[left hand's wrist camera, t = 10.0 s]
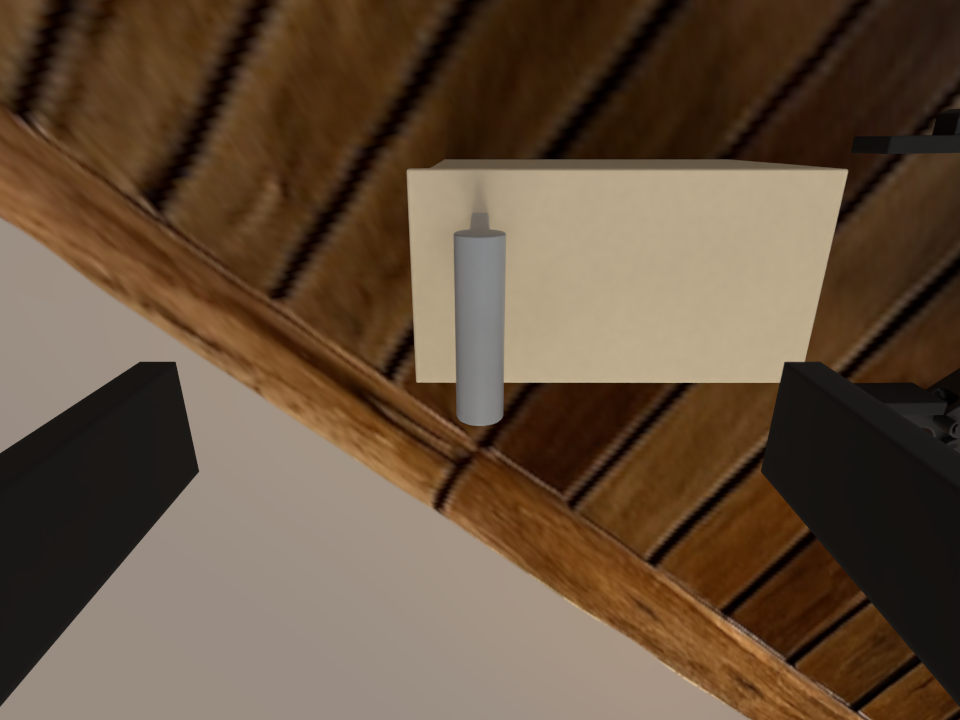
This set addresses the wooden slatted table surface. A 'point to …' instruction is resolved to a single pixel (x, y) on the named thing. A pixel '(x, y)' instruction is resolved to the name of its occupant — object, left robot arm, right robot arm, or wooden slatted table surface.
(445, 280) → the lid
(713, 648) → the wooden slatted table surface
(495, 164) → the chest
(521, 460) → the wooden slatted table surface
